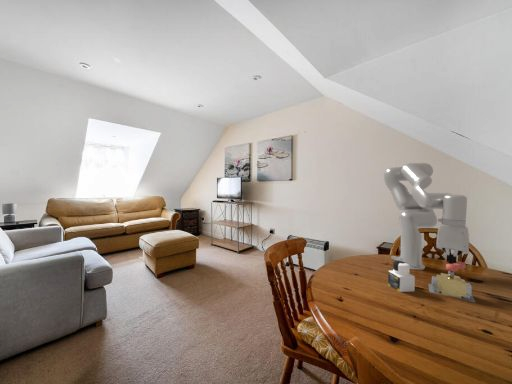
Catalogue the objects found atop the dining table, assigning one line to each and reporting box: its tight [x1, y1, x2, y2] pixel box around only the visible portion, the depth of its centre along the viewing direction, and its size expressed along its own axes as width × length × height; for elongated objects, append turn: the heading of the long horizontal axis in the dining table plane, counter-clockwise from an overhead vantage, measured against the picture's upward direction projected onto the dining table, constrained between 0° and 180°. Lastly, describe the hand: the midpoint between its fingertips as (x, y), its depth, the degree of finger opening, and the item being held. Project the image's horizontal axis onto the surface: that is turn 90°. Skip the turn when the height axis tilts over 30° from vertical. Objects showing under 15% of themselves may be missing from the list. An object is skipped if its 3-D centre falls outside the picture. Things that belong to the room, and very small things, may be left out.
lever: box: [445, 260, 466, 273], centre depth 90 cm, size 3×10×2 cm, turn 111°
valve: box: [431, 270, 473, 300], centre depth 89 cm, size 12×6×10 cm, turn 53°
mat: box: [428, 283, 476, 303], centre depth 90 cm, size 14×9×1 cm, turn 53°
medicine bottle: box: [387, 260, 416, 293], centre depth 94 cm, size 7×7×12 cm
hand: (451, 263), depth 93 cm, fingers closed
